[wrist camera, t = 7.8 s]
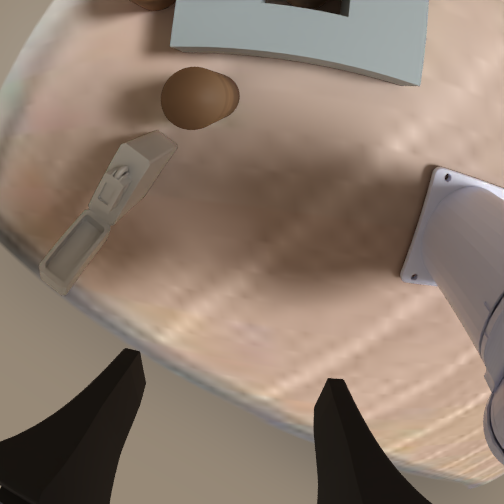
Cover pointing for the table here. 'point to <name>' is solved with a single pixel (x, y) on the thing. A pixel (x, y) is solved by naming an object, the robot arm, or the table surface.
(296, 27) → the socket block
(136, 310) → the table surface
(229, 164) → the table surface
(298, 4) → the tall dowel
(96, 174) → the table surface
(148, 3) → the short dowel
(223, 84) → the medium dowel
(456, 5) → the table surface
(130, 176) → the lighter
